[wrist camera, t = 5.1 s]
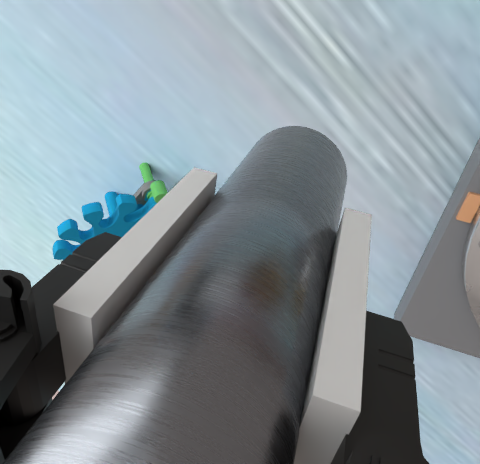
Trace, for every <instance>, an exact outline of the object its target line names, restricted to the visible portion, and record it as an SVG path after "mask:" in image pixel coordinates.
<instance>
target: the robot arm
mask: <svg viewBox="0 0 480 464" xmlns="http://www.w3.org/2000/svg"><path fill="white" fill-rule="evenodd" d="M216 179H217V173H213V172H210V171H206V170H202V169H198V168H195V167H194V168H193V169H192V170H191V171H190V172H189V173H188V174H187V175H186V176H185V177H184V178H183V179H182V180H181V181H180V182H178V183H177V184H176V185H175V186H174V187H173V188H172V189H171V190H170V191H169V192H168V193H167V194H166V195H165V196H164V197H163V198H162V199H161V200H160V201H159V202H158V203H157V204H156V205H155V206H154V207H153V208H152V209H151V210H150V211H149V212H148V213H147V214H146V215H145V216H144V217H143V218H142V219H141V220H140V221H138V222H137V223H136V224H135V225H134V226H133V227H132V228H131V229H130V230H129V231H128V232H127V233H126V234H125V235H124V236H123V237H120V236H116V235H113V234H110V233H107V232H104V233H102V234H100V235H97V236H95V237H92V238H90V239H88V240H86V241H85V242H84V243H82V244H81V245H80V246H79V247H78V248H77V249H75V250H74V251H73V253H72V255H69V256H67V257H66V258H65V259H64V260H63V261H62V262H61V264H60V265H59V264H58V265H57V266H56V267H55V268H54V269H52V270H51V271H50V272H49V273H48V274H47V275H45V276H44V277H43V278H42V279H41V280H40V281H39V282H37V283H36V284H35V285H34V286H33V287H32V288H31V283H30V281H29V280H28V279H27V278H26V277H25V276H24V275H23V274H20V273H18V272H15V271H12V270H0V464H3V462H4V461H5V460H6V459H7V457H8V456H9V455H10V453H11V452H12V451H13V450H14V448H15V447H16V446H17V445H18V443H19V442H20V441H21V440H22V438H23V437H24V436H25V435H26V433H27V432H28V431H29V430H30V428H31V427H32V426H33V424H34V423H35V422H36V421H37V419H38V418H39V417H40V416H41V414H42V413H43V412H44V411H45V409H46V408H47V407H48V406H49V404H50V403H51V402H52V396H53V395H54V394H55V393H56V391H57V390H58V389H59V388H60V386H61V385H62V384H63V383H64V381H65V384H66V383H67V382H68V380H69V379H70V378H71V377H72V375H73V374H74V373H75V371H76V370H77V369H78V368H79V366H80V365H81V364H82V363H83V361H84V360H85V359H86V358H87V356H88V355H89V354H90V353H91V351H92V350H93V349H94V348H95V346H96V345H97V344H98V342H99V341H100V340H101V339H102V337H103V336H104V335H105V334H106V332H107V331H108V330H109V329H110V327H111V326H112V325H113V324H114V322H115V321H116V320H117V319H118V317H119V316H120V315H121V313H122V312H123V311H124V310H125V308H126V307H127V306H128V305H129V303H130V302H131V301H132V300H133V298H134V297H135V296H136V295H137V293H138V292H139V291H140V289H141V288H142V287H143V286H144V284H145V283H146V282H147V281H148V279H149V278H150V277H151V276H152V274H153V273H154V272H155V271H156V269H157V268H158V267H159V266H160V264H161V263H162V262H163V260H164V259H165V258H166V257H167V255H168V254H169V253H170V252H171V250H172V249H173V248H174V247H175V245H176V244H177V243H178V242H179V240H180V239H181V238H182V236H183V235H184V234H185V233H186V231H187V230H188V229H189V228H190V226H191V225H192V224H193V223H194V221H195V220H196V219H197V218H198V216H199V215H200V214H201V213H202V211H203V210H204V209H205V207H206V206H207V205H208V204H209V202H210V201H211V200H212V199H213V197H214V195H215V187H216ZM370 233H371V214H367V213H363V212H359V211H356V210H352V209H348V208H345V210H344V213H343V216H342V219H341V222H340V225H339V228H338V231H337V234H336V239H335V244H334V249H333V254H332V260H331V265H330V270H329V275H328V281H327V286H326V291H325V297H324V302H323V307H322V312H321V318H320V323H319V328H318V333H317V339H316V344H315V349H314V354H313V360H312V365H311V370H310V375H309V381H308V386H307V391H306V397H305V402H304V407H303V412H302V418H301V423H300V428H299V438H298V443H297V449H296V454H295V459H294V464H429V463H428V462H427V460H426V459H425V458H424V456H423V453H422V448H421V443H420V431H419V418H418V406H417V393H416V380H414V378H415V367H414V364H413V361H414V354H413V342H412V339H411V337H410V336H409V334H408V332H407V330H406V328H405V326H404V325H403V323H402V322H401V321H398V320H394V319H391V318H388V317H385V316H381V315H378V314H375V313H372V312H368V311H366V305H367V287H368V269H369V251H370Z"/></svg>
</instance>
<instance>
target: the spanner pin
mask: <svg viewBox="0 0 480 464" xmlns="http://www.w3.org/2000/svg"><path fill="white" fill-rule="evenodd" d="M346 182H347V170H346V164H345V161H344V158H343V156H342V154H341V152H340V151H339V149H338V148H337V146H336V145H335V144H334V143H333V142H332V141H331V140H330V139H329V138H327V137H326V136H325V135H323V134H321V133H320V132H318V131H315V130H313V129H310V128H306V127H301V126H288V127H282V128H278V129H276V130H273V131H271V132H269V133H268V134H266V135H265V136H263V137H262V138H261V139H260V140H259V141H258V142H257V143H256V144H255V146H254V147H253V148H252V149H251V151H250V152H249V153H248V154H247V156H246V157H245V158H244V160H243V161H242V162H241V163H240V165H239V166H238V167H237V168H236V170H235V171H234V172H233V173H232V175H231V176H230V177H229V178H228V180H227V181H226V182H225V184H224V185H223V186H222V187H221V189H220V190H219V191H218V192H217V194H216V195H215V196H214V197H213V199H212V200H211V201H210V202H209V204H208V205H207V206H206V207H205V209H204V210H203V211H202V213H201V214H200V215H199V216H198V218H197V219H196V220H195V221H194V223H193V224H192V225H191V226H190V228H189V229H188V230H187V231H186V233H185V234H184V235H183V236H182V238H181V239H180V240H179V242H178V243H177V244H176V245H175V247H174V248H173V249H172V250H171V252H170V253H169V254H168V255H167V257H166V258H165V259H164V260H163V262H162V263H161V264H160V266H159V267H158V268H157V269H156V271H155V272H154V273H153V274H152V276H151V277H150V278H149V279H148V281H147V282H146V283H145V284H144V286H143V287H142V288H141V289H140V291H139V292H138V293H137V295H136V296H135V297H134V298H133V300H132V301H131V302H130V303H129V305H128V306H127V307H126V308H125V310H124V311H123V312H122V313H121V315H120V316H119V317H118V319H117V320H116V321H115V322H114V324H113V325H112V326H111V327H110V329H109V330H108V331H107V332H106V334H105V335H104V336H103V337H102V339H101V340H100V341H99V342H98V344H97V345H96V346H95V348H94V349H93V350H92V351H91V353H90V354H89V355H88V356H87V358H86V359H85V360H84V361H83V363H82V364H81V365H80V366H79V368H78V369H77V370H76V371H75V373H74V374H73V375H72V377H71V378H70V379H69V380H68V382H67V383H66V384H65V385H64V387H63V388H62V389H61V390H60V392H59V393H58V394H57V395H56V397H55V398H54V399H53V401H52V402H51V403H50V404H49V406H48V407H47V408H46V409H45V411H44V412H43V413H42V414H41V416H40V417H39V418H38V419H37V421H36V422H35V423H34V424H33V426H32V427H31V428H30V430H29V431H28V432H27V433H26V435H25V436H24V437H23V438H22V440H21V441H20V442H19V443H18V445H17V446H16V447H15V448H14V450H13V451H12V452H11V453H10V455H9V456H8V457H7V459H6V460H5V461H4V462H3V464H294V459H295V454H296V449H297V443H298V438H299V428H300V423H301V418H302V412H303V407H304V402H305V397H306V391H307V386H308V381H309V375H310V370H311V365H312V360H313V354H314V349H315V344H316V339H317V333H318V328H319V323H320V318H321V312H322V307H323V302H324V297H325V291H326V286H327V281H328V275H329V270H330V265H331V260H332V254H333V249H334V244H335V239H336V234H337V230H338V225H339V220H340V214H341V209H342V204H343V198H344V193H345V188H346Z"/></svg>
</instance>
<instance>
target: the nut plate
mask: <svg viewBox="0 0 480 464" xmlns="http://www.w3.org/2000/svg"><path fill="white" fill-rule="evenodd" d="M479 207H480V138H479V140H478V142H477V144H476V146H475V148H474V150H473V152H472V155H471V157H470V159H469V161H468V163H467V165H466V167H465V169H464V171H463V173H462V175H461V177H460V179H459V181H458V183H457V185H456V188H455V190H454V192H453V194H452V196H451V198H450V200H449V202H448V204H447V206H446V208H445V210H444V212H443V214H442V216H441V219H440V221H439V223H438V225H437V227H436V229H435V231H434V233H433V235H432V237H431V239H430V241H429V243H428V245H427V247H426V250H425V252H424V254H423V256H422V258H421V260H420V262H419V264H418V266H417V268H416V270H415V272H414V274H413V276H412V278H411V280H410V283H409V285H408V287H407V289H406V291H405V293H404V295H403V297H402V299H401V301H400V303H399V305H398V307H397V309H396V311H395V314H394V319H395V320H398V321H401V322H402V323H403V325H404V326H405V328H406V330H407V332H408V334H409V336H411V337H415V338H418V339H421V340H424V341H427V342H430V343H434V344H437V345H440V346H443V347H446V348H450V349H453V350H456V351H459V352H462V353H465V354H469V355H472V356H475V357H478V358H480V327H479V325H478V324H477V321H476V319H475V317H474V315H473V313H472V311H471V308H470V304H469V301H468V297H467V293H466V290H465V286H464V282H463V270H462V261H463V251H464V245H465V241H466V238H467V234H468V230H469V228H470V225H471V223H472V221H473V219H474V216H475V214H476V212H477V210H478V208H479Z"/></svg>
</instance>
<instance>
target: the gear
mask: <svg viewBox="0 0 480 464" xmlns="http://www.w3.org/2000/svg"><path fill="white" fill-rule="evenodd" d="M140 170H141V173H142V176H143V179H144V184H143V185H142V186H141V187H140V188H139V189H138V191H137V192H136V193H135V194H134V195H129V194H119V195H117V193H116V192H108V193H106V195H105V199H106V203H107V207H108V211H109V216H110V217H109V218H107V219H102V218H103V217H104V214H103V209H102V205H101V204H100V203H99V202H95V203H90V204H87V205H84V206H82V212H83V217H84V220H85V221H87V222H89V223H90V224H91V225H92V228H91V229H90V230H87V231H80V230H78V226H77V222H76V221H74V220H72V219H68V220H66V221H64V222H63V223H62V224H60V225H59V226H58V227H57V228H58V235H59V237H60V238H61V239H63V240H57V241H56V242H55V243H54V245H53V255H54V259H58V260H61V259H63V260H64V259H65V258H66V257H67V256H69V255H72V253H73V251H74V250H75V249H77V248H78V247H79V246H80V245H81V244H82V243H84V242H85V241H86V240H88V239H90V238H92V237H95V236H97V235H100V234H102V233H104V232H107V233H110V234H113V235H116V236H120V237H123V236H124V235H125V234H126V233H127V232H128V231H129V230H130V229H131V228H132V227H133V226H134V225H135V224H136V223H137V222H138V221H140V220H141V219H142V218H143V217H144V216H145V215H146V214H147V213H148V212H149V211H150V210H151V209H152V208H153V207H154V206H155V205H156V204H157V203H158V202H159V201H160V200H161V199H162V198H163V197H164V196H165V195H166V194H167V190H166V187H165V184H164V182H163V181H160V180H157V181H156V180H154V179H153V176H152V173H151V170H150V167H149V164H148V163H142V164H141V165H140ZM65 240H71V241H76V242H79V243H80V245H72V244H70V243H69V242H68V241H65Z"/></svg>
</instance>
